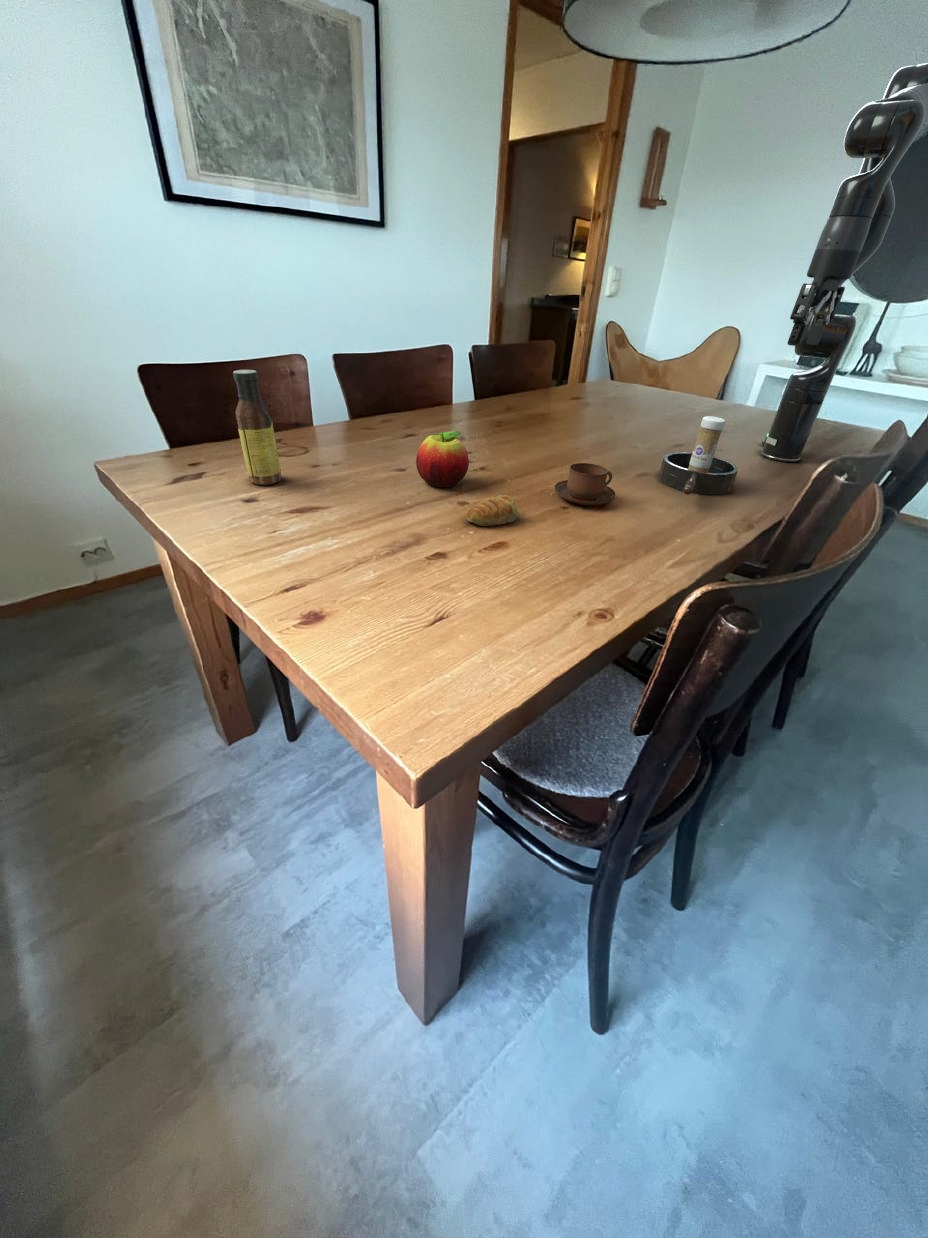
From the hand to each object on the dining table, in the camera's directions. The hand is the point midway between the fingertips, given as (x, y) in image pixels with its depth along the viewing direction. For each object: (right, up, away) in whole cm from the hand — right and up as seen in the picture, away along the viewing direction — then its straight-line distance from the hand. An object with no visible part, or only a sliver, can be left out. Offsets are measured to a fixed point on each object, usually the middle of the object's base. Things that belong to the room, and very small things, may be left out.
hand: (802, 344), depth 107 cm
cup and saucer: (-45, -32, -2) cm, 56 cm away
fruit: (-74, -28, +1) cm, 79 cm away
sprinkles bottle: (-17, -25, +11) cm, 32 cm away
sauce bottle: (-109, -29, -4) cm, 113 cm away
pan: (-17, -25, +11) cm, 33 cm away
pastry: (-64, -38, -13) cm, 76 cm away
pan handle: (-23, -29, 0) cm, 38 cm away
